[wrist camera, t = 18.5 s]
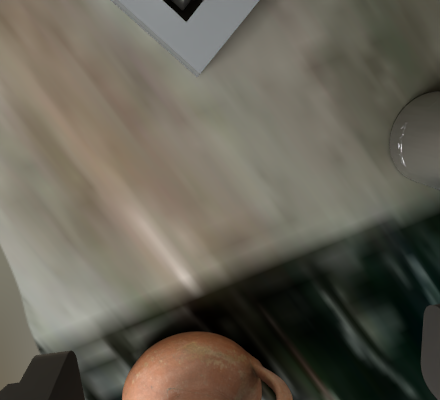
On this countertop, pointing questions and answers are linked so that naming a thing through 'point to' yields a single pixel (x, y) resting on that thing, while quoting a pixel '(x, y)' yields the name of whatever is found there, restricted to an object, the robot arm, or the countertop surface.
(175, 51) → the socket block
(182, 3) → the plug
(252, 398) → the ceramic jug
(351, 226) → the countertop surface
